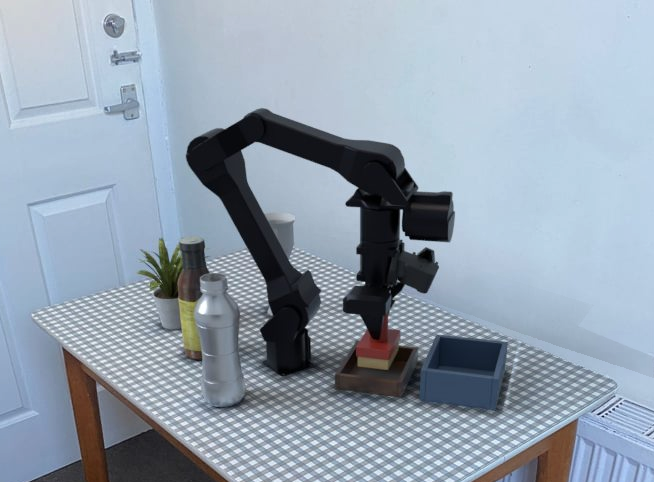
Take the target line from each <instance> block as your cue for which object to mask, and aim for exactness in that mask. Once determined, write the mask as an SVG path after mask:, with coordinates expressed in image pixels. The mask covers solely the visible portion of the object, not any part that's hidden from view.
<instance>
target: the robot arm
mask: <svg viewBox="0 0 654 482" xmlns="http://www.w3.org/2000/svg"><path fill="white" fill-rule="evenodd" d="M255 143H260V144H262V145H265V146H268V147H271V148H273V149H276V150H278V151H281V152H284V153H287V154H290V155H292V156H295V157H298V158H300V159H303V160H306V161H309V162H311V163H314V164H317V165H320V166H323V167H326V168H329V169H330V170H333V171H334V172H336V173H337V174H339V175H340V176H341V177H342V178H343V179H344V180H346V182H347V183H349V184H351V185H352V186H354V187H356V190H355V191H354V193H353V195H352V196H350V197H349V198H348V199H347V200H346V201H345V203H344V204H345V207H348V208H359V244H357V246H356V247H355V250H356V251H355V252H356V255H358V256H359V271H358V272H357V273H356V277H355V278H356V282H361V283H364V285H358V284H357V285H354V286H353V287H351V288H350V289H349V290H348V292H347V293H346V295H345V296H344V297H343V299H342V312H343V313H345V314H348V315H349V314H350V315H359V316H360V318H361V320H362V322H363V324H364V326H365V328H366V330H367V329H368V331H369V333H370V335H371V337H372V339H373V340H379V339H380V336H381V332H382V326H383V321H384V316H386V314H387V313H388V317H389V316H390V311H391V309H392V308H393V306H394V304H395V302H396V299H395V297H396V296H398V295H399V294H400V293H401V292H402V291H403V289H404V287H405V286H407V287H410V288H412V289H414V290H416V292H418V293H421V294H428V293H429V290H430V289H431V287H432V285H433V283H434V280H435V277H436V275H437V273H438V271H439V269H440V266H439V262H438V261H436V255H435V250H434V249H432V248H429V247H424V248H423V249H421V250H420V251H419V252H415V251H413V252H412V253H411V252H408V251H406V250H405V246H406V245H405V242H403V239H400V238H401V231H402V233H404V237H408V239H409V240H410V241H421V242H422V241H423V242H436V243H451V241H452V238H453V234H454V227H455V218H456V211H455V208H454V207H455V206H454V205H455V204H454V200H453V196H454V195H453V192H452V191H448V190H447V191H445V190H444V191H419V185H418V184H417V183H416V181H415V180H414V178H413V177H412V176H411V174H410V172H409V171H408V169H407V168H406V162H405V157H404V156H403V154H402V151H401V149H400V148H399V147H397V146H396V145H394V144H391V143H387V142H382V141H376V140H370V139H351V138H345V137H341V136H338V135H336V134H333V133H330V132H327V131H325V130H322V129H320V128H319V129H318V128H316V127H313V126H311V125H307V124H304V123H302V122H299V121H297V120H294V119H291V118H289V117H285V116H283V115H280V114H276V113H275V112H272V111H271V110H270V109H268V108H264V107H261V108H256V109H255V110H252V111H250V112H248V113H247V114H245V115H244V116H243V118H242V119H240V120H238V121H236V122H235V123H233V124H231V125H230V126H228V127H226V128H222V127H216V128H213V129H210V130H208V131H206V132H204V133H202V134H200V135H197V136H195V137H194V138H193V139H191V141H189V143H188V145H187V148H186V153H185V160H186V162H187V166H188V167H189V168H190V170H191V171H192V172H193V175H195V177H196V178H197V179H198V180H199V182H200V183H201V184H202V186H204V187H205V188H206V189H207V190H209V191H210V192H212V193H213V194H214V195H215V196H216V197H218V199H219V200H220V201H221V203H222V205H223V207H224V208H225V211H226V212H227V214H228V216H229V217H230V220H231V221H232V222H233V225H234V227H235V228H236V231H237V232H238V233H239V236H240V237H241V240H242V241H243V242H244V245H245V247H246V248H247V251H248V252H249V254H250V256H251V257H252V260H253V261H254V264H255V265H256V267H257V268H258V271H259V272H260V274H261V276H262V278H263V279H264V282H265V288H266V295H267V302H268V307H269V306H270V309H271V312H272V314H273V315H272V316H271V315H270V317H269V318H268V319H267V321H265V323H264V324H263V325H262V326H261V327H260V329H259V333H260V334H261V337H262V339H263V341H264V342H265V352H266V359H264V360H262V364H263V365H264V366H266V367H267V368H268V369H270V370H271V371H273V372H275V374H277V375H278V376H280V377H286V376H289V375H292V374H295V373H299V372H302V371H304V370H307V369H311V368H313V367H315V365H316V364H315V363H314V362H313V361H311V360H312V342H311V340H312V337H311V336H309V330H308V328H306V327H307V326H308V325H309V323H310V322H311V321H312V319H313V318H314V317H315V316H316V314H318V312H319V310H320V308H321V304H322V298H321V295H320V294H321V292H322V290H321V288H319V287H318V285H317V284H316V282H315V280H314V277H313V274H312V272H311V271H310V269H307V270H305V271H304V272H303V273H302V272H301V271H300V270H298V269H297V268H295V267H294V266H293V265H292V263H291V261H290V258H289V259H288V258H287V256H286V254H285V252H284V250H283V248H282V246H281V244H280V243H279V241H278V239H277V237H276V235H275V233H274V231H273V229H272V228H271V226H270V224H269V222H268V220H267V218H266V216H265V213H264V211H263V209H262V207H261V205H260V204H259V202H258V199H257V198H256V195H255V194H254V192H253V190H252V188H251V186H250V185H249V182H248V177H247V168H246V160H245V157H244V155H243V150H244V149H246V148H247V147H250V146H251V145H253V144H255ZM401 210H402V215H401Z"/></svg>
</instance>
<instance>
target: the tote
mask: <svg viewBox="0 0 654 482" xmlns="http://www.w3.org/2000/svg"><path fill="white" fill-rule="evenodd" d="M508 346H509V341H503V340H494V339H483V338H474V337H465V336H455V335H445V334H436V335H435V337H434V339H433V342H432V344H431V346H430V349H429V350H428V353H427V355H426V357H425V360H424V362H423V364H422V366H421V369H420V381H419V382H420V383H419V387H420V388H419V401H420V402H426V403H427V402H428V403H435V404H443V405H448V406H457V407H466V408H472V409H479V410H480V409H481V410H489V411H497V405H498V401H499V397H500V393H501V390H502V385H503V382H504V376H505V373H506V366H507V365H506V364H507V356H508V355H507V354H508Z"/></svg>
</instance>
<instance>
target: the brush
mask: <svg viewBox="0 0 654 482" xmlns="http://www.w3.org/2000/svg"><path fill="white" fill-rule="evenodd" d="M401 331H402V330H401V329H395V328H394V329H393V328H389V316H388V313H387V314H386V316H384V321H383V326H382V332H381V336H380V339H379V340H373V339H372V337H371V335H370V333H369V331H368V329H367V328H366V330H365V332H364V333H363V335H362V336H361V338H360V340H359V341H360V342H359V343H358V345H357V346H356V356H357V357H358V367H367V368H375V369H384V370H388V369H389V367H390V365H391V363H392V362H393V360H394V358H395V356H396V354H397V352H398V350H399V345H400V341H401Z"/></svg>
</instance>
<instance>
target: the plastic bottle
mask: <svg viewBox="0 0 654 482" xmlns="http://www.w3.org/2000/svg"><path fill="white" fill-rule="evenodd" d="M209 273H210V272H209ZM200 285H201V287H200V291H201V292H202V293H203V295H202V296H201V298H200V299H199V301H198V303H197V305H196V307H195V311H194V317H195V322H196V326H197V330H198V334H199V338H200V344H201V348H202V349H201V350H202V360H201V364H202V365H201V367H202V369H201V371H202V373H201V378H200V379H201V381H200V383H201V384H200V390H201V391H200V392H201V394H202V397H203V399H204V400H205V401H206V402H207V403H208V404H209V405H210V406H212V407H216V408H226V407H232V406H235V405H237V404H238V403H240V402H241V401H242V400H243V398H244V397H245V394H246V388H247V387H246V386H247V383H246V379H245V376H244V372H243V369H242V363H241V357H240V346H239V344H240V342H239V340H240V339H239V336H240V335H239V334H240V333H239V332H240V318H241V310H240V307H239V304H238V303H237V302H236V300H235V299H234V298H233V297H232V296H231V294H230V293H228V291H229V285H228V277H227V275H226V274H224V273H220V272H211V273H210V274H205V275H203V276H201V277H200Z"/></svg>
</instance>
